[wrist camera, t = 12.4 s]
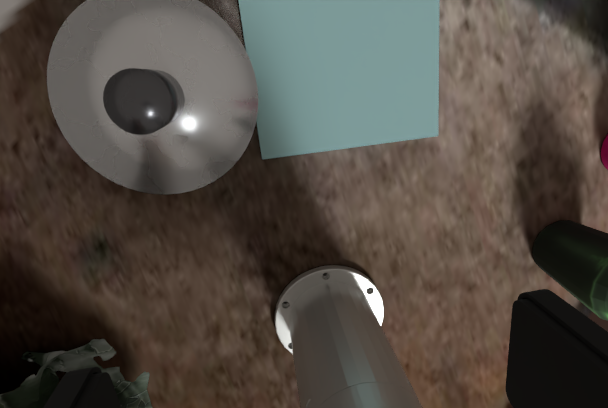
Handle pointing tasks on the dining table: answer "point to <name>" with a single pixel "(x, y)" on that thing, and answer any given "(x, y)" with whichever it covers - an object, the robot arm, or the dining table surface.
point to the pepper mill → (605, 152)
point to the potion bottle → (576, 262)
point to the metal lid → (152, 92)
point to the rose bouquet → (37, 389)
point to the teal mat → (342, 72)
